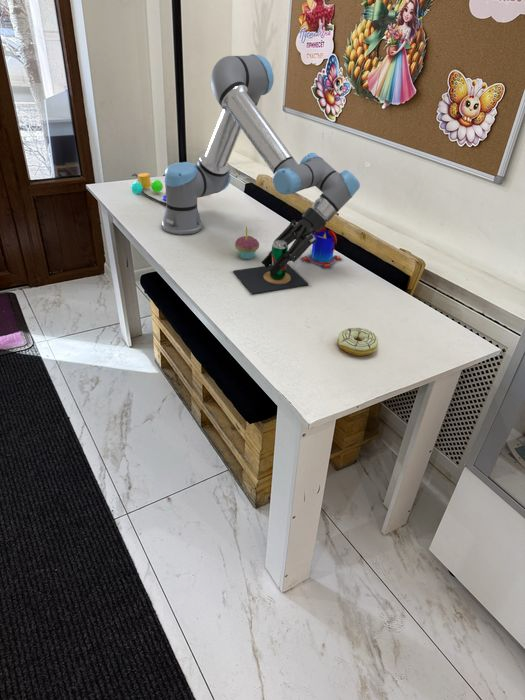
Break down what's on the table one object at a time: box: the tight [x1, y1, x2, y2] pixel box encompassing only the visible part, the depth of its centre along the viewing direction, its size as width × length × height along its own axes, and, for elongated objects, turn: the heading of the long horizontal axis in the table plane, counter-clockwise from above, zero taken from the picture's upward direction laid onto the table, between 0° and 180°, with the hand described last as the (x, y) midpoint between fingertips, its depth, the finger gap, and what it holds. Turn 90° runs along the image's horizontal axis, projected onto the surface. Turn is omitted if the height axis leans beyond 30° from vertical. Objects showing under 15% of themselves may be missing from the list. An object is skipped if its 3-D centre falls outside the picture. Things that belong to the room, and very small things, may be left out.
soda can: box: [270, 239, 289, 280], centre depth 163 cm, size 5×5×12 cm
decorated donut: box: [337, 327, 379, 357], centre depth 137 cm, size 10×11×4 cm
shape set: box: [130, 172, 166, 202], centre depth 223 cm, size 29×35×7 cm
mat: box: [232, 263, 309, 296], centre depth 166 cm, size 16×20×1 cm
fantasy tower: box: [301, 226, 342, 269], centre depth 178 cm, size 12×12×12 cm
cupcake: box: [234, 225, 260, 260], centre depth 176 cm, size 9×8×12 cm
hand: (267, 268), depth 163 cm, fingers closed on soda can, 5 cm apart
